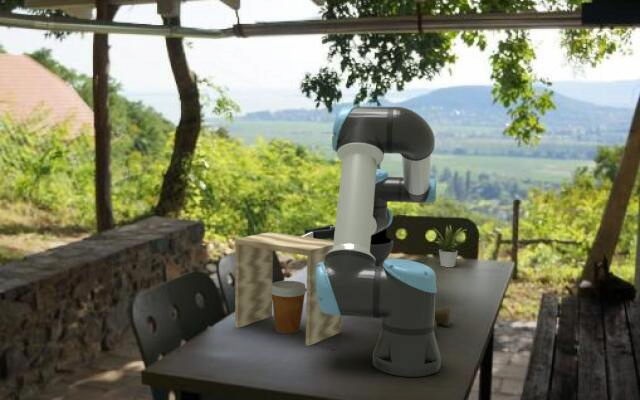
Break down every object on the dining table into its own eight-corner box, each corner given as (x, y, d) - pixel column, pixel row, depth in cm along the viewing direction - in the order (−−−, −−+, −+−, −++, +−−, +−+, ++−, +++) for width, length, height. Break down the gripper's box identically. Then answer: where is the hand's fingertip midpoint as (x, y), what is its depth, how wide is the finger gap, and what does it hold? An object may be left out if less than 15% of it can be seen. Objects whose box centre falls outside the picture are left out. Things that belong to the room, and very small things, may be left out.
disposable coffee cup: (273, 336, 174) (274, 289, 173) (266, 325, 183) (266, 281, 182) (310, 334, 177) (310, 288, 175) (301, 323, 186) (301, 279, 184)
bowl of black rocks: (333, 269, 254) (334, 218, 252) (347, 259, 273) (348, 212, 271) (386, 274, 248) (388, 222, 246) (397, 263, 267) (398, 215, 265)
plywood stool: (269, 315, 192) (270, 232, 190) (341, 332, 179) (343, 242, 176) (235, 327, 181) (235, 238, 178) (309, 345, 167) (310, 250, 165)
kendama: (406, 339, 176) (417, 316, 195) (444, 344, 174) (451, 320, 193) (407, 316, 175) (418, 295, 194) (445, 321, 173) (453, 299, 192)
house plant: (477, 269, 258) (479, 226, 256) (445, 272, 253) (447, 228, 251) (456, 262, 271) (457, 221, 270) (425, 264, 266) (426, 222, 264)
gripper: (396, 247, 199) (359, 268, 182) (323, 233, 212) (282, 251, 195) (396, 222, 197) (359, 241, 180) (323, 209, 211) (282, 226, 193)
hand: (319, 246), depth 188 cm, fingers open, 13 cm apart
